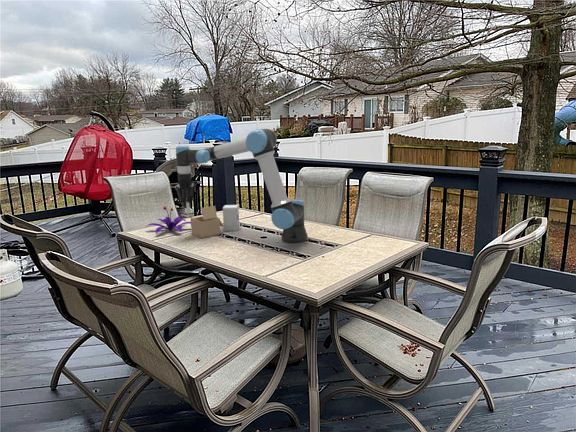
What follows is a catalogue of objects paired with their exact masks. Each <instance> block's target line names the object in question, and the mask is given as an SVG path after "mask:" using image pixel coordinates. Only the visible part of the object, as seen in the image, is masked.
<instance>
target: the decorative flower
mask: <svg viewBox="0 0 576 432" xmlns="http://www.w3.org/2000/svg"><path fill="white" fill-rule="evenodd" d="M163 210H164V211H166V212H167V216H165V218H163V219H162V218H157V219H156V220H158V221H159V222H160V223H163V224H165V225H166V226H165V225H163V224H159V223H156V222H154V223H153V222H152V223H149V224H147V225H146V226H145V228H147V227H149V226H158V227H157V228H156V229H155V234H159V233H160V231H161V230H163V229H166V230H168V231H169V232H170V231H171V232H172V231H173V230H174V229H176V230H177V231H178V232H180V233H182V232H183V228H182V225H186V224H187V225H188V224H189V225H191V221H187V220H186V219H185V218H181V216H182V215H181V216H177V217H175V218H174V220H172V211H174V208H172V207H171V208H170V212H168V210H167V206H163ZM169 213H170V214H169ZM183 221H184V222H183ZM181 222H182V223H181Z"/></svg>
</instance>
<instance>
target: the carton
mask: <svg viewBox="0 0 576 432" xmlns="http://www.w3.org/2000/svg"><path fill="white" fill-rule="evenodd" d="M194 218H195V219H198V220H199V221H197V220H194V219H191V218H190V222H191V224H190V228H191V229H190V230H191V235H193V236H195V237H197V238H200V239H208V238H211V237H215V236H220V235H221V228H224V223H223V221H222V220H221V219H220V217H218V216H217V217H216V218H211V219H206V220H203V215H201V216H196V217H194Z"/></svg>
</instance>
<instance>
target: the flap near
mask: <svg viewBox="0 0 576 432" xmlns="http://www.w3.org/2000/svg"><path fill="white" fill-rule="evenodd" d="M201 216H203V220H206V219H211V218H216V217H218V215H217V209H216V205H211V206H206V207H205V206H204V207H201Z"/></svg>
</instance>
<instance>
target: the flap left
mask: <svg viewBox="0 0 576 432" xmlns="http://www.w3.org/2000/svg"><path fill="white" fill-rule="evenodd" d="M180 215H181V216H184V217H187V218H189V219H190V220H191V219H194V220H197V221H199V220H198V219H195V217H192V216H189V215H186V214H183V213H181V214H180Z"/></svg>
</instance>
